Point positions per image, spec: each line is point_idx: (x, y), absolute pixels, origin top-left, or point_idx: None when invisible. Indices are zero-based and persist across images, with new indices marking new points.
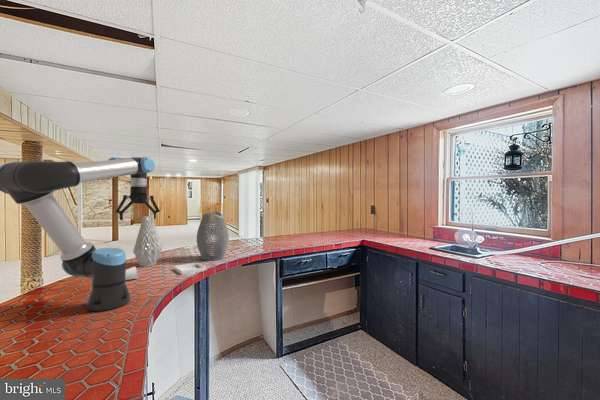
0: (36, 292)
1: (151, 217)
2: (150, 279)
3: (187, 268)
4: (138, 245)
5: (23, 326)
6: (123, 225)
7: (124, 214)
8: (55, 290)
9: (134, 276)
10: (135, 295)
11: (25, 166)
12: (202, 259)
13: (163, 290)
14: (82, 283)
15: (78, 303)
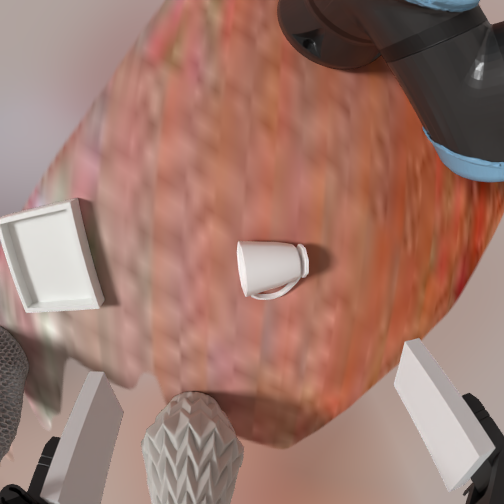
0: (470, 262)
1: (98, 476)
2: (190, 210)
3: (57, 281)
4: (226, 459)
5: None
6: (419, 345)
7: (478, 449)
8: (445, 255)
9: (248, 241)
10: (259, 30)
11: None
12: (23, 359)
13: (166, 31)
14: (390, 291)
15: None
